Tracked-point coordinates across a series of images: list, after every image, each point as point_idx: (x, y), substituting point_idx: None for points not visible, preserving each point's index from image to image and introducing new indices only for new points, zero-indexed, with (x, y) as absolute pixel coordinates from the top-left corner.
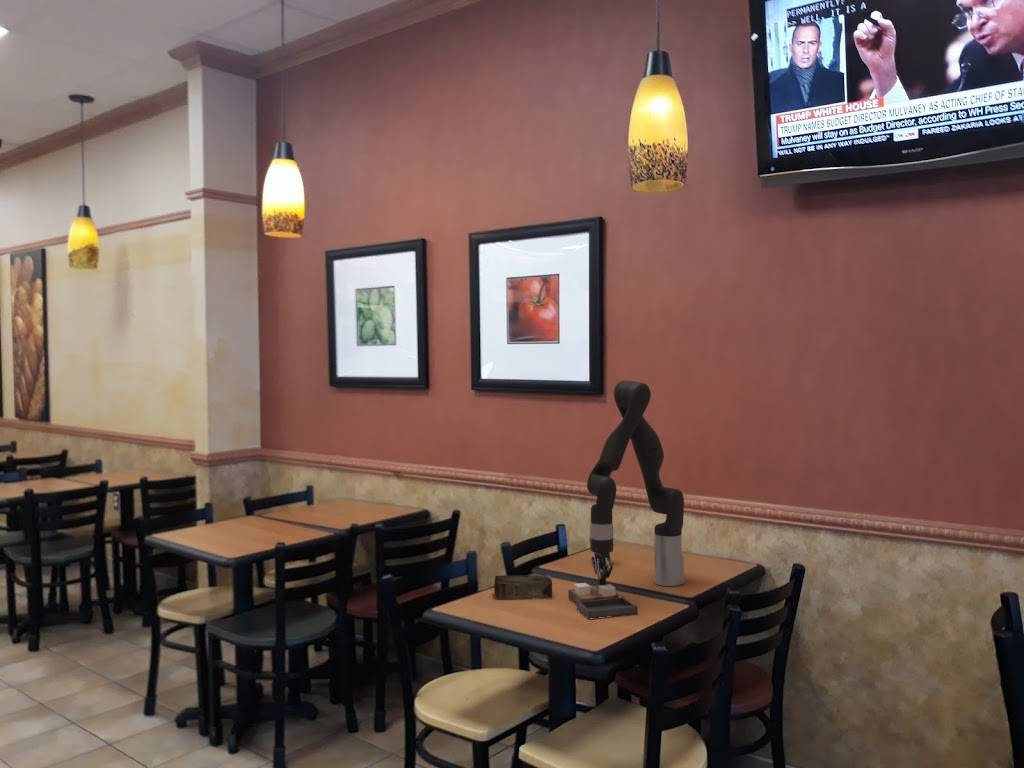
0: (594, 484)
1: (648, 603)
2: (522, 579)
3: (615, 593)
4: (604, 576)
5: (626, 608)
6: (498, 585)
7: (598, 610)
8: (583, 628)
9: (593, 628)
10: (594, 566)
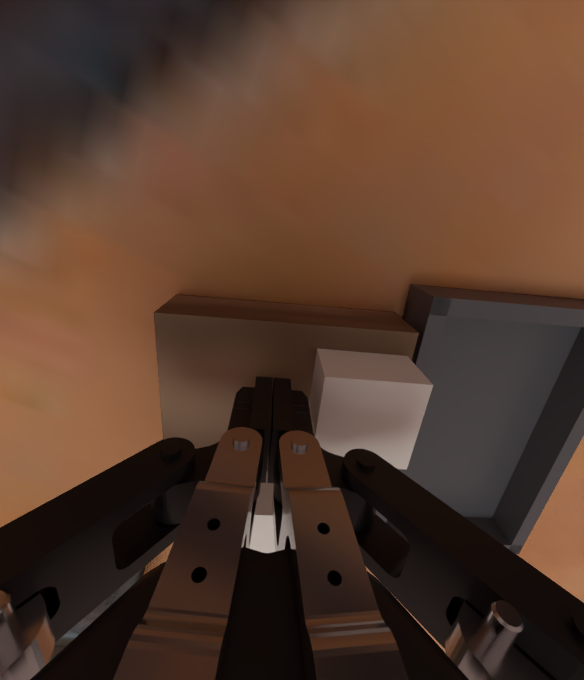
0: None
1: (489, 93)
2: None
3: (368, 333)
4: (375, 510)
5: None
6: None
7: (537, 519)
8: (554, 560)
9: (581, 536)
10: (115, 579)
